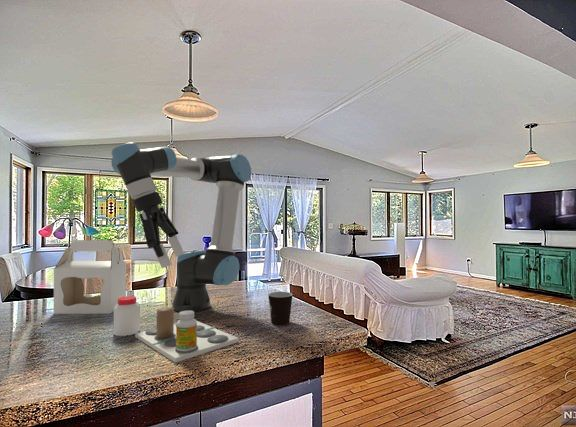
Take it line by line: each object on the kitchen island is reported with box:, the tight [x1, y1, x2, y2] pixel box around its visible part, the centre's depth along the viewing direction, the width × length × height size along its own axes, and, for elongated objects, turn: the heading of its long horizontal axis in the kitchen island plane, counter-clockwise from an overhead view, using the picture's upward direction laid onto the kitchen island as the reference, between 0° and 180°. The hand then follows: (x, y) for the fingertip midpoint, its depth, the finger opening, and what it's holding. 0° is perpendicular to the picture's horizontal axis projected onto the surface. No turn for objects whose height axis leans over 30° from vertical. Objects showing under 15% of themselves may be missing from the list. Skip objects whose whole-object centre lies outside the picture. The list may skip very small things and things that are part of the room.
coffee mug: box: [267, 291, 293, 327], centre depth 120 cm, size 12×9×10 cm
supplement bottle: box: [175, 311, 198, 351], centre depth 91 cm, size 5×5×10 cm
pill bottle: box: [112, 295, 141, 337], centre depth 109 cm, size 8×8×11 cm
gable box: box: [53, 239, 127, 315], centre depth 135 cm, size 22×13×28 cm, turn 92°
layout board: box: [134, 306, 239, 363], centre depth 102 cm, size 26×20×10 cm
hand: (174, 260), depth 101 cm, fingers open, 13 cm apart
